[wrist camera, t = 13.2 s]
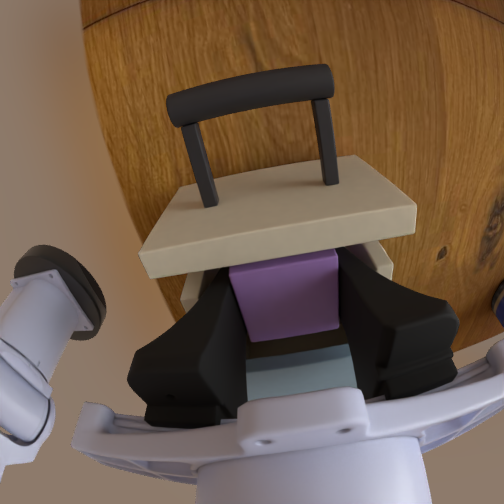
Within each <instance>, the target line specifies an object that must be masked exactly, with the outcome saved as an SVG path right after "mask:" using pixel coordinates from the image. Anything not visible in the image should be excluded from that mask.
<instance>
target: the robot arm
mask: <svg viewBox="0 0 504 504" xmlns="http://www.w3.org/2000/svg"><path fill="white" fill-rule="evenodd" d="M334 249H335V251H336V253H337V255H338V272H339V317H340V319H341V322H342V325H343V327H344V330H345V333H346V336H347V340H348V344H349V348H350V353H351V357H352V362H353V367H354V372H355V377H356V383H357V388H353V387H349V386H346V387H334V388H329V389H323V390H318V391H312V392H306V393H299V394H292V395H285V396H277V397H268V398H260V399H256V400H251V401H248V397H247V380H246V339H247V329H246V326H245V323H244V320H243V317H242V314H241V311H240V308H239V305H238V302H237V299H236V296H235V293H234V290H233V287H232V284H231V281H230V278H229V267H230V266H228V267H222V268H220V269H219V271H218V273H217V274H216V276H215V277H214V279H213V280H212V282H211V283H210V285H209V286H208V288H207V289H206V291H205V292H204V293H203V295H202V296H201V297H200V299H199V300H198V301H197V302H196V303H195V305H194V306H193V307H192V308H191V309H190V310H189V311H188V312H187V313H186V314H185V315H184V316H183V317H182V318H181V319H180V320H179V321H178V322H177V323H175V324H174V325H173V326H172V327H171V328H170V329H169V330H167V331H166V332H165V333H163V334H162V335H161V336H159V337H158V338H156V339H155V340H154V341H152V342H150V343H149V344H147V345H146V346H144V347H142V348H141V349H139V350H137V351H136V353H135V355H134V358H133V361H132V364H131V367H130V370H129V373H128V377H127V381H128V384H129V386H130V387H131V388H132V389H133V391H134V392H135V393H136V394H137V395H138V396H139V397H141V398H142V400H143V401H144V402H146V403H147V408H146V413H145V417H141V416H132V415H123V414H116V413H114V411H113V410H112V409H110V408H109V407H107V406H105V405H103V404H98V403H92V402H84V404H83V407H82V410H81V413H80V416H79V419H78V422H77V425H76V429H75V432H74V435H73V438H72V441H71V447H72V448H74V449H76V450H77V451H79V452H81V453H83V454H84V455H86V456H88V457H90V458H92V459H94V460H95V461H97V462H99V463H101V464H103V465H106V466H109V467H113V468H116V469H120V470H124V471H128V472H132V473H136V474H140V475H144V476H149V477H153V478H158V479H163V480H168V481H174V482H179V483H186V484H192V485H197V489H196V501H195V504H432V501H431V495H430V490H429V485H428V481H427V475H426V471H425V467H424V463H423V458H422V454H423V453H425V452H427V451H430V450H432V449H434V448H436V447H438V446H440V445H442V444H444V443H446V442H448V441H450V440H452V439H454V438H456V437H458V436H460V435H461V434H463V433H465V432H466V431H468V430H470V429H472V428H474V427H476V426H477V425H479V424H480V423H482V422H484V421H486V420H487V419H489V418H490V417H492V416H494V415H495V414H497V413H498V412H500V411H501V410H503V409H504V339H502V340H500V341H498V342H497V343H495V344H494V345H493V346H492V347H491V348H490V349H489V351H488V353H487V354H486V357H484V358H482V359H479V360H477V361H475V362H473V363H471V364H469V365H466V366H464V367H462V368H460V369H456V367H455V365H454V362H453V360H452V357H453V352H452V350H451V348H450V347H451V344H452V342H453V340H454V338H455V336H456V334H457V331H458V328H459V319H458V317H457V316H456V314H455V312H454V311H453V309H452V307H451V306H450V305H449V303H448V302H447V301H446V300H442V299H438V298H434V297H430V296H427V295H424V294H421V293H418V292H415V291H413V290H410V289H408V288H406V287H404V286H401V285H399V284H397V283H395V282H393V281H391V280H389V279H388V278H386V277H384V276H383V275H381V274H379V273H378V272H376V271H375V270H373V269H372V268H370V267H369V266H367V265H366V264H365V263H363V262H362V261H361V260H360V259H358V258H357V257H356V256H355V255H353V254H352V253H351V252H350V251H349V250H348V249H347V248H345V247H338V248H334ZM10 284H11V286H12V287H13V290H12V292H11V293H10V294H9V296H8V297H7V298H6V300H5V301H4V302H3V304H2V305H1V306H0V426H1V427H2V428H4V429H5V430H7V431H8V432H9V433H11V434H12V435H7V434H5V433H3V432H1V431H0V482H1V478H2V475H3V472H4V468H5V466H6V465H11V464H21V463H28V462H32V461H34V459H35V457H36V455H37V452H38V450H39V449H40V447H41V445H42V444H43V442H44V441H45V440H46V439H47V438H48V436H49V435H50V433H51V431H52V429H53V426H54V422H55V415H56V413H55V404H54V400H53V399H52V397H51V396H50V395H51V393H52V390H53V388H52V387H50V386H49V385H48V383H49V381H50V379H51V377H52V374H53V372H54V370H55V368H56V365H57V364H58V362H59V359H60V357H61V355H62V353H63V351H64V349H65V347H66V345H67V343H68V341H69V339H70V337H71V335H72V334H73V332H74V331H90V330H93V328H94V325H93V324H92V323H91V321H90V320H89V318H88V317H87V315H86V314H85V313H84V311H83V310H82V308H81V307H80V305H79V304H78V302H77V301H76V299H75V298H74V296H73V295H72V293H71V292H70V290H69V288H68V287H67V285H66V284H65V282H64V280H63V279H62V277H61V275H60V274H59V272H58V271H57V270H55V269H52V270H48V271H44V272H40V273H35V274H31V275H27V276H23V277H19V278H15V279H12V280H11V281H10Z"/></svg>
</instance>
